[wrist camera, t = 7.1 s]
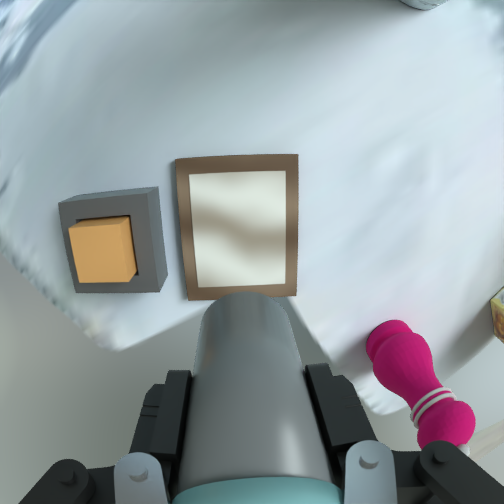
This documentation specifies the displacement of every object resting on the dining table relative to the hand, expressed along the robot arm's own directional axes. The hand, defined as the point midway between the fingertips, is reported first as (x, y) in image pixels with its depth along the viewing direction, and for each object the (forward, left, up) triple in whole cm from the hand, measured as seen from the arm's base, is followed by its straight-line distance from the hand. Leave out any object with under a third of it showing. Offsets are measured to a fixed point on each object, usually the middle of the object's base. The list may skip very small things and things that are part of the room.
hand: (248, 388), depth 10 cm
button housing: (0, -12, -21) cm, 24 cm away
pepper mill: (+15, +18, -21) cm, 32 cm away
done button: (0, -12, -19) cm, 22 cm away
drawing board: (0, 0, -21) cm, 21 cm away
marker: (0, 0, -4) cm, 4 cm away
